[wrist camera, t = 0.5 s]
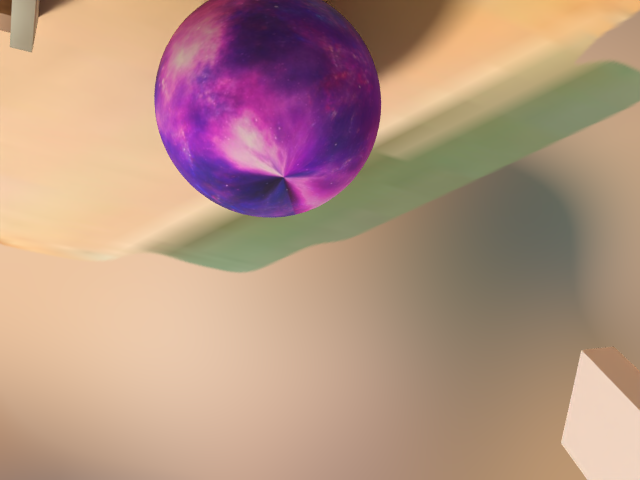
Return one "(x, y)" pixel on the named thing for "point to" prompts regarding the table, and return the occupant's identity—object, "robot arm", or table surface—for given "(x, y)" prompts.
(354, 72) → the decorative orb
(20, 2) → the grey and wooden pieces
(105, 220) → the table surface
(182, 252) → the table surface
